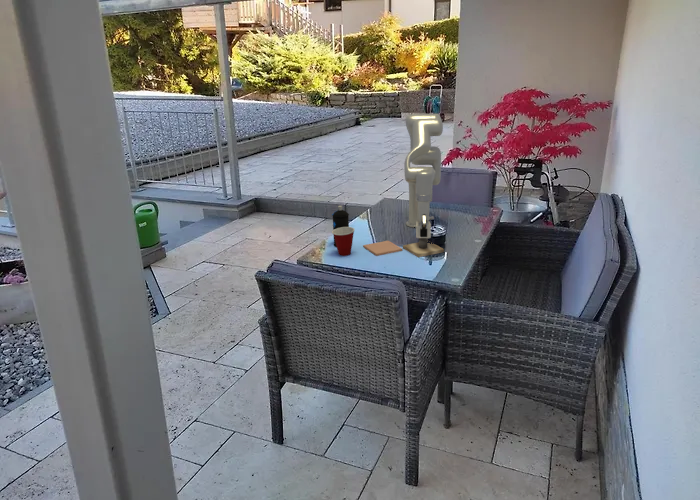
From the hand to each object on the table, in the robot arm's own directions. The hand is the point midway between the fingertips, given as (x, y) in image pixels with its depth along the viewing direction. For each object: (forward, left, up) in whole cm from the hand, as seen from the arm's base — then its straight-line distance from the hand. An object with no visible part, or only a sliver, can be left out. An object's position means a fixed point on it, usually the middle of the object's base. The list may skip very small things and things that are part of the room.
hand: (423, 233), depth 239 cm
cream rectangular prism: (0, 0, -1) cm, 1 cm away
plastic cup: (+35, -14, -8) cm, 39 cm away
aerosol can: (+31, -26, -8) cm, 41 cm away
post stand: (0, 0, -8) cm, 8 cm away
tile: (+16, -11, -8) cm, 21 cm away
